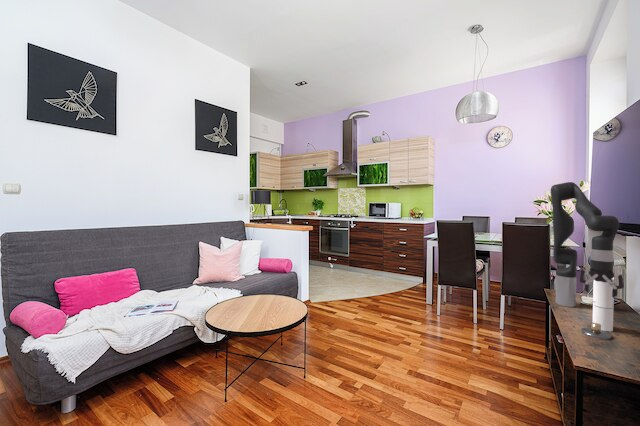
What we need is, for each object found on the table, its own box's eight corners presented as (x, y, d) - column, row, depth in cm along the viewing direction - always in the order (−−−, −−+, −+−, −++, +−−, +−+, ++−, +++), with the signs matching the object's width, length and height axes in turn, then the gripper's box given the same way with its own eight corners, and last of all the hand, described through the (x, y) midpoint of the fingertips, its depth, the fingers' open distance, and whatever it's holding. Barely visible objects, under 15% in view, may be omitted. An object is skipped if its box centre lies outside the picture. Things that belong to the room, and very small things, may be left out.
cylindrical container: (606, 325, 144) (607, 275, 143) (616, 332, 137) (618, 279, 136) (589, 324, 146) (590, 274, 145) (598, 330, 139) (599, 278, 138)
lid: (576, 329, 141) (577, 318, 141) (602, 331, 138) (602, 320, 138) (589, 338, 131) (589, 327, 131) (616, 341, 128) (617, 329, 128)
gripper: (578, 258, 136) (578, 292, 137) (622, 262, 125) (621, 300, 125) (583, 256, 141) (582, 289, 141) (625, 260, 129) (624, 297, 130)
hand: (600, 294), depth 133 cm, fingers open, 8 cm apart
